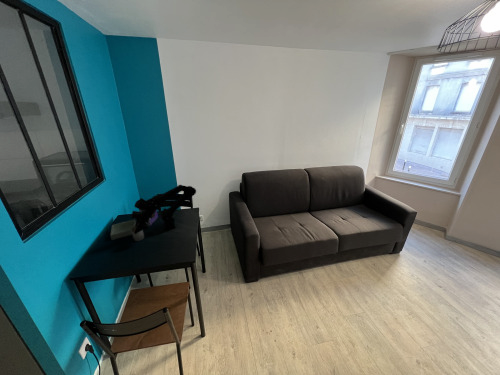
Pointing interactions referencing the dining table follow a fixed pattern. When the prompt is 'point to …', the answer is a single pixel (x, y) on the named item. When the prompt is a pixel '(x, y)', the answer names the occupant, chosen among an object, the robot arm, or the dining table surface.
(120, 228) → the bin
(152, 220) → the candy box
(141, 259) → the dining table surface
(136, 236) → the jar
